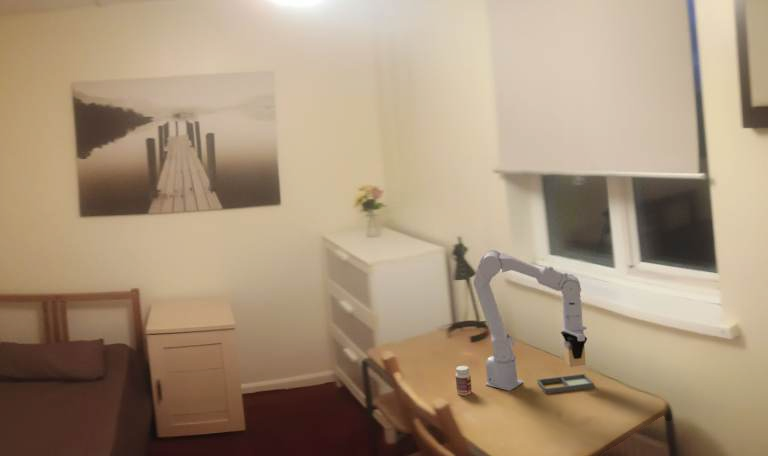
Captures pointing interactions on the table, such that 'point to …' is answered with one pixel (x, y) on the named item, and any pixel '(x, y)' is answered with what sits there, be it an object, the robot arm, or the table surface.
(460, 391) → the pill bottle
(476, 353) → the table surface
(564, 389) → the gray divided rectangular frame
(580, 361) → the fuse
